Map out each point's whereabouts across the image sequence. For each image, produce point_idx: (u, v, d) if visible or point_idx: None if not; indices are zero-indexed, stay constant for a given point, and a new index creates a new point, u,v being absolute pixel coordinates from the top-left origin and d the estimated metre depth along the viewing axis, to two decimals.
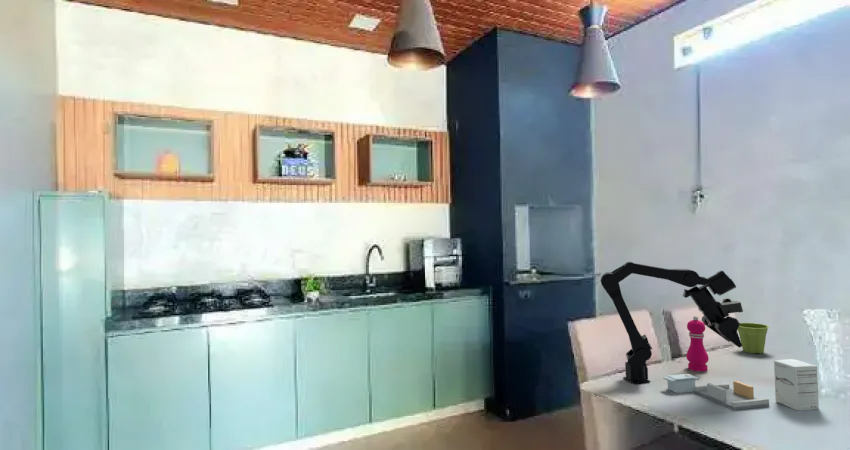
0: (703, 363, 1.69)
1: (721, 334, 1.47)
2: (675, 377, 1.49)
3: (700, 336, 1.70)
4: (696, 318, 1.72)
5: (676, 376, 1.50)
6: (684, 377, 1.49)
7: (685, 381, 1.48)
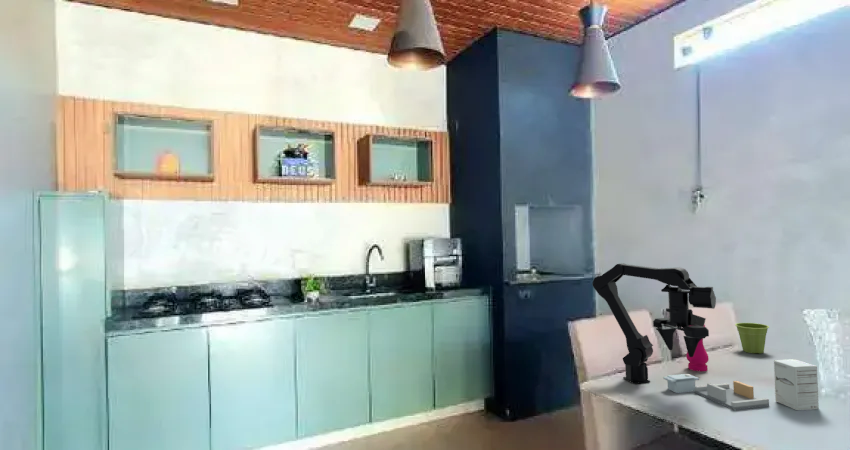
0: (703, 363, 1.69)
1: (685, 338, 1.44)
2: (675, 377, 1.49)
3: None
4: None
5: (676, 376, 1.50)
6: (684, 377, 1.49)
7: (685, 381, 1.48)
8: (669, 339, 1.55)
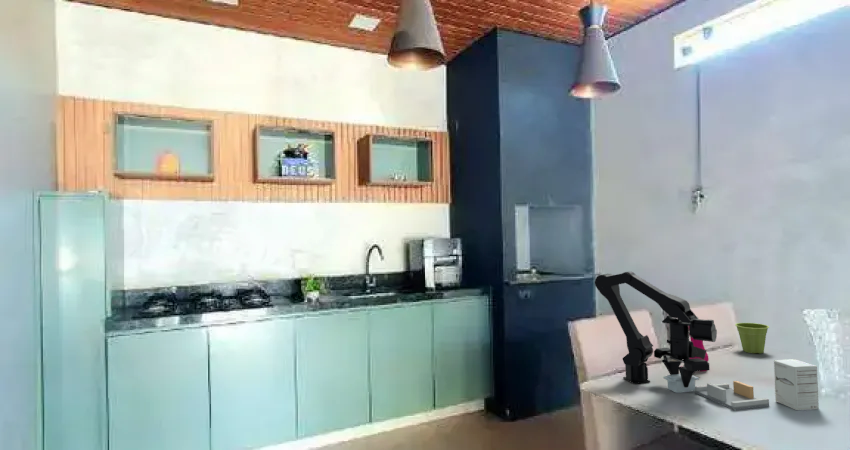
0: None
1: (680, 369, 1.46)
2: (675, 377, 1.49)
3: None
4: None
5: (676, 376, 1.50)
6: None
7: None
8: (675, 372, 1.52)
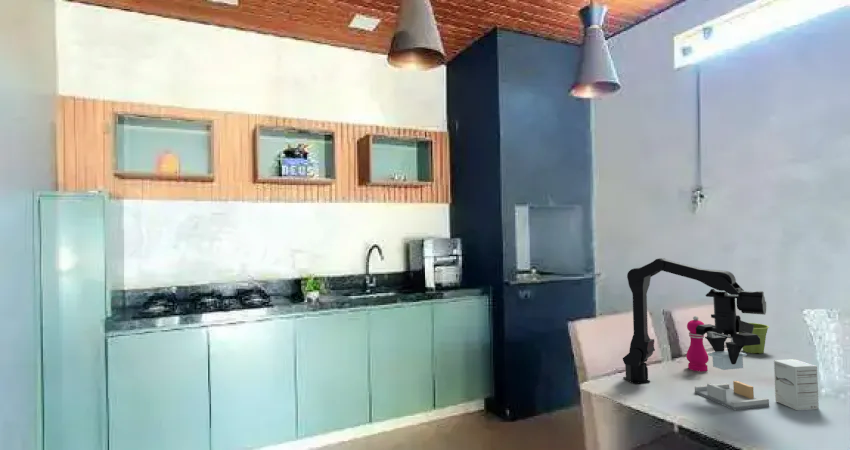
0: (703, 363, 1.69)
1: (728, 345, 1.37)
2: (721, 353, 1.41)
3: (700, 336, 1.70)
4: (696, 318, 1.72)
5: (722, 352, 1.42)
6: None
7: None
8: (720, 349, 1.44)
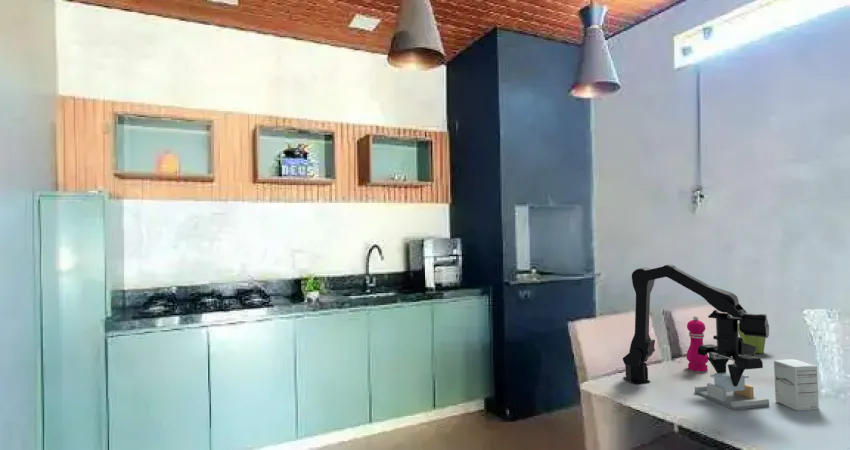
0: (703, 363, 1.69)
1: (730, 367, 1.37)
2: (723, 375, 1.40)
3: (700, 336, 1.70)
4: (696, 318, 1.72)
5: (724, 374, 1.41)
6: None
7: None
8: (722, 370, 1.43)
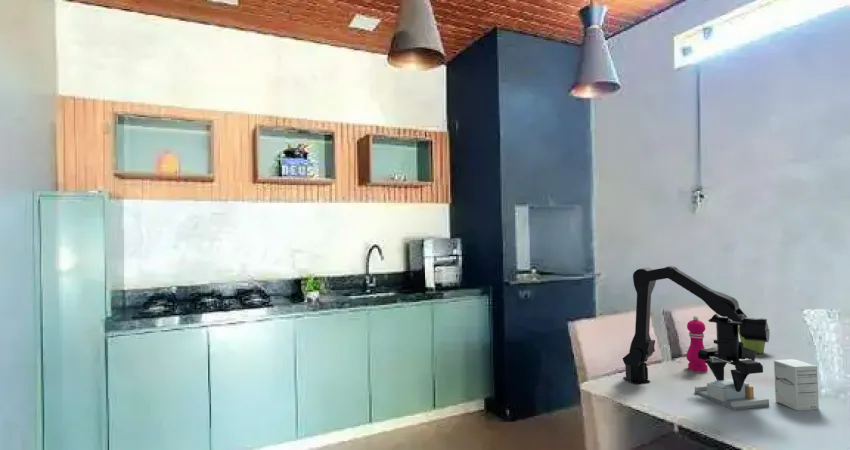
0: (703, 363, 1.69)
1: (733, 372, 1.36)
2: (724, 382, 1.40)
3: (700, 336, 1.70)
4: (696, 318, 1.72)
5: (724, 381, 1.41)
6: (733, 382, 1.40)
7: (734, 387, 1.39)
8: (720, 373, 1.44)
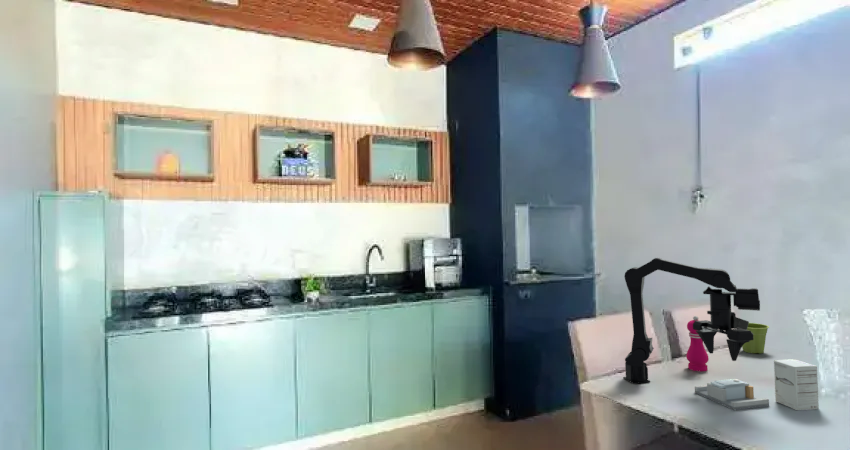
0: (703, 363, 1.69)
1: (729, 342, 1.41)
2: (724, 382, 1.40)
3: None
4: (696, 318, 1.72)
5: (724, 381, 1.41)
6: (733, 382, 1.40)
7: (734, 387, 1.39)
8: (710, 342, 1.52)
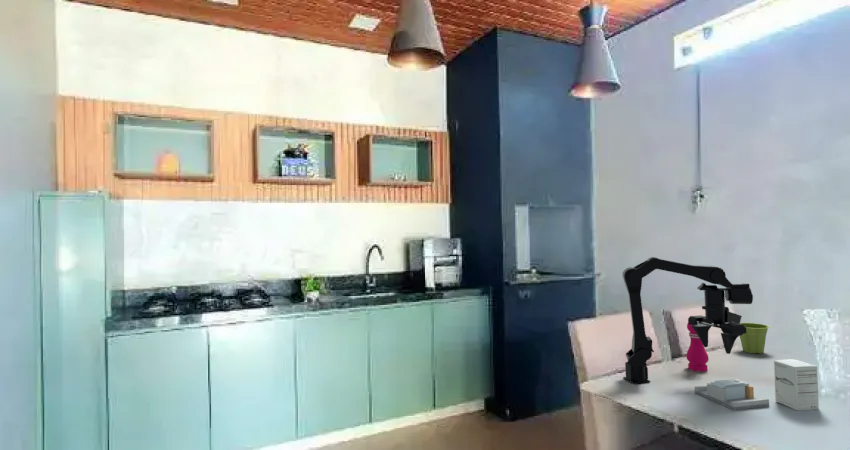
0: (703, 363, 1.69)
1: (723, 335, 1.47)
2: (724, 382, 1.40)
3: None
4: None
5: (724, 381, 1.41)
6: (733, 382, 1.40)
7: (734, 387, 1.39)
8: (704, 336, 1.58)
